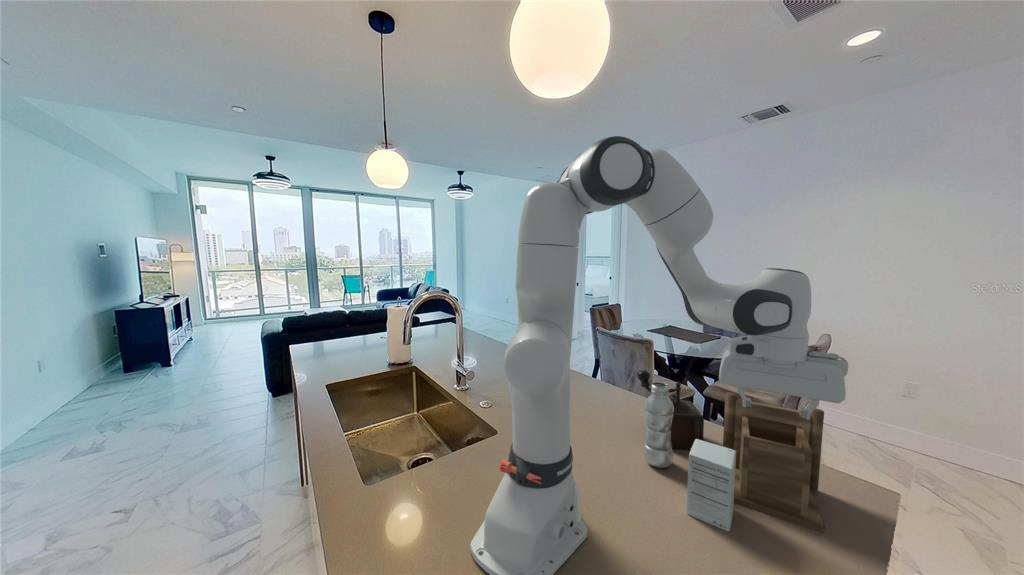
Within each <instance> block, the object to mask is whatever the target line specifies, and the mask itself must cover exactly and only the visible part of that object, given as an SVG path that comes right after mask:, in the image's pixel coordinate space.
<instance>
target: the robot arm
mask: <svg viewBox="0 0 1024 575" xmlns="http://www.w3.org/2000/svg"><path fill="white" fill-rule="evenodd" d="M622 204H625V205H626V206H628V207H630V208H631V210H632V211H634V212H635V214H636V215H637V217H638V218H639V220H640V221H641V223H642V225H643V226H644V227H645V228H646V230H647V231H648V233H649V234H650V236H651V237H652V239H653V241H654V243H655V246H656V249H657V250H656V251H657V252H658V254H659V256H660V259H661V260H662V262H663V263H664V265H665V267H666V269H667V270H668V272H669V274H670V276H671V277H672V278H673V280H674V283H675V284H676V286H677V288H678V289H679V291H680V293H681V295H682V298H683V302H684V307H685V311H686V313H687V315H688V317H689V318H690V319H691V320H692V321H693V322H694V323H695V324H698V325H701V326H706V327H712V328H717V329H720V330H724V331H728V332H733V333H736V334H740V335H743V336H736V337H732V338H729V339H728V341H727V349H726V350H725V351H724V353H723V354H722V357H721V361H720V367H719V374H718V380H719V381H720V383H721V384H722V385H727V386H731V387H736V388H737V393H738V395H739V396H740V399H742V400H743V407H745V408H751V404H752V402H753V401H752V398H750V397H747V396H746V394H745V393H746V391H747V390H746V389H751V390H756V391H762V392H769V393H774V394H780V395H787V396H793V397H797V398H805V399H806V400H807V401H808V403H807V404H806V406H804V407H801V406H799V407H798V410H799V411H800V412H799V417H800V418H802V419H807V420H810V413H811V412H812V411H813V410H814V409H815V408H817V409H818V407H819V406H820V401H822V402H828V403H834V404H841V403H843V401H846V382H845V381H846V380H845V377H846V376H847V375H848V373H849V362H848V360H846V359H845V358H844V357H842V356H840V355H839V354H836V353H831V352H828V353H827V352H821V351H814V350H809V339H810V334H809V330H808V322H809V319H810V317H811V312H812V286H811V282H810V278H809V276H808V275H807V274H806V273H804V272H802V271H799V270H794V269H788V268H787V269H786V268H785V269H784V268H776V267H774V268H773V267H770V268H764V269H762V270H760V274H759V275H757V276H756V277H754V278H753V279H751V280H749V281H747V282H744V283H742V284H727V283H722V282H718V281H716V280H714V279H712V278H710V277H709V276H708V275H707V273H706V272H705V269H704V267H703V266H702V264H701V262H700V260H699V258H698V257H697V254H696V252H695V250H694V247H695V246H696V245H697V244H698V243H700V242H702V240H703V239H704V238H705V237H706V236H707V235H708V233H709V232H710V229H711V227H712V224H713V221H714V212H713V208H712V205H711V203H710V202H709V200H708V198H707V197H706V194H704V192H703V191H702V190H701V188H700V186H699V184H697V182H696V181H695V180H694V178H693V177H692V176H691V175H690V173H689V172H688V171H687V169H686V168H684V166H683V165H682V164H681V163H680V162H679V161H678V160H677V159H676V158H674V157H673V155H671V154H670V153H669V152H668V151H666V150H664V149H662V148H661V149H659V148H655V149H649V150H647V149H645V148H643V146H641V145H640V144H639V143H637V142H635V140H633V139H631V138H629V137H626V136H620V135H615V136H608V137H605V138H602V139H600V140H597V141H596V142H595V143H593V144H592V145H591V146H589V147H588V148H587V149H586V150H584V151H583V152H581V153H579V154H578V155H577V156H576V157H575V158H574V159H573V160H572V161H571V162H570V164H569V165H568V166H567V167H566V168H564V170H563V172H562V173H561V174H560V176H559V178H558V180H557V181H556V182H553V181H552V182H551V181H550V182H549V181H548V182H543V183H540V184H538V185H535V186H533V187H532V188H531V189H530V190H529V191H528V192H527V193H526V195H525V199H524V203H523V207H522V211H521V216H520V222H519V229H518V235H517V236H518V238H517V255H516V270H515V271H516V272H515V273H516V274H515V291H516V298H517V314H518V315H517V317H518V320H517V321H518V322H517V323H518V325H517V329H516V333H515V334H514V336H512V338H511V339H510V341H509V342H508V344H507V346H506V349H505V355H504V364H503V365H504V373H505V377H506V379H507V386H508V391H509V396H510V402H511V409H512V410H511V411H512V412H511V413H512V415H511V416H512V417H511V418H512V419H511V420H512V424H511V425H512V442H511V445H510V448H509V452H508V458H507V459H502V460H501V461H500V462H499V465H498V466H499V467H498V470H499V471H500V472H502V473H504V475H503V477H502V479H501V481H500V483H499V485H498V487H497V489H496V491H495V493H494V495H493V497H492V499H491V501H490V503H489V505H488V508H487V510H486V512H485V516H484V521H483V522H482V524H481V525H480V527H479V528H478V530H477V532H476V533H475V535H474V537H473V538H472V539H471V542H470V547H469V550H470V554H471V556H472V558H473V560H474V561H475V562H476V564H478V566H479V567H481V569H483V570H484V572H486V573H487V574H489V575H555V573H556V572H557V571H558V570H559V568H560V567H561V566H562V565H563V564H564V563H565V562H566V561H567V560H568V558H570V557H571V555H572V554H573V553H574V552H575V551H576V550H577V548H578V547H579V546H580V545H581V544H582V543H583V542H584V541H585V540H586V539H587V537H588V528H587V526H586V525H585V523H584V522H583V520H582V519H581V505H580V502H581V501H580V489H579V486H578V484H577V482H576V480H575V478H574V475H573V473H572V470H573V462H574V461H573V460H574V455H573V450H572V449H573V448H572V446H571V380H570V379H571V366H570V365H571V355H572V354H571V352H572V341H573V340H572V339H573V327H574V316H575V314H574V312H575V298H576V286H577V274H578V261H579V250H580V249H579V247H580V246H579V244H580V229H581V226H582V223H583V220H584V218H585V217H586V215H588V214H589V215H590V214H592V213H595V212H603V211H607V210H610V209H612V208H614V207H616V206H619V205H622Z"/></svg>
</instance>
